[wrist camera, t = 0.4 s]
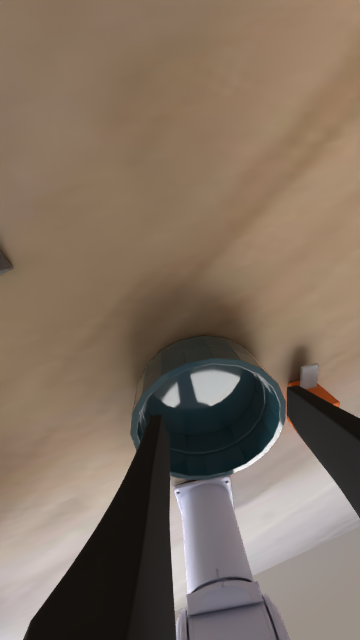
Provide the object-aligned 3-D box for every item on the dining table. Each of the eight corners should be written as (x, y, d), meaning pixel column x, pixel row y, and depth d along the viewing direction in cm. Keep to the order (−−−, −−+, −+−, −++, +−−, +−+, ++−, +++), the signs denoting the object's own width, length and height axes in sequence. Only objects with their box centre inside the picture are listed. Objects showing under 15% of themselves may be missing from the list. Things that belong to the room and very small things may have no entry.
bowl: (261, 423, 25) (284, 463, 20) (153, 446, 24) (151, 492, 20) (257, 322, 20) (286, 342, 15) (122, 348, 20) (110, 378, 15)
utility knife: (308, 415, 25) (334, 444, 21) (287, 420, 25) (310, 449, 21) (312, 356, 22) (343, 377, 18) (289, 361, 22) (315, 383, 18)
